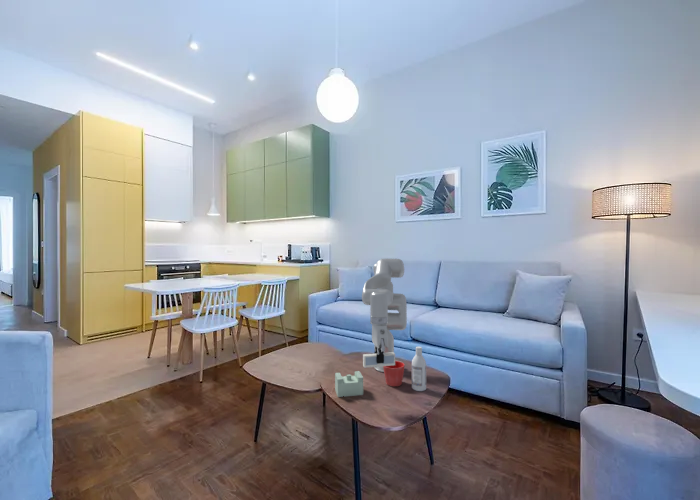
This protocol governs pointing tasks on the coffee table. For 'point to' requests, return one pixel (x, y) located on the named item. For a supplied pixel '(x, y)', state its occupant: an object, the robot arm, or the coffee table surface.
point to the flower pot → (394, 374)
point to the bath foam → (418, 371)
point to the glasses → (371, 360)
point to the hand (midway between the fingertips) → (379, 361)
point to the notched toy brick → (349, 384)
